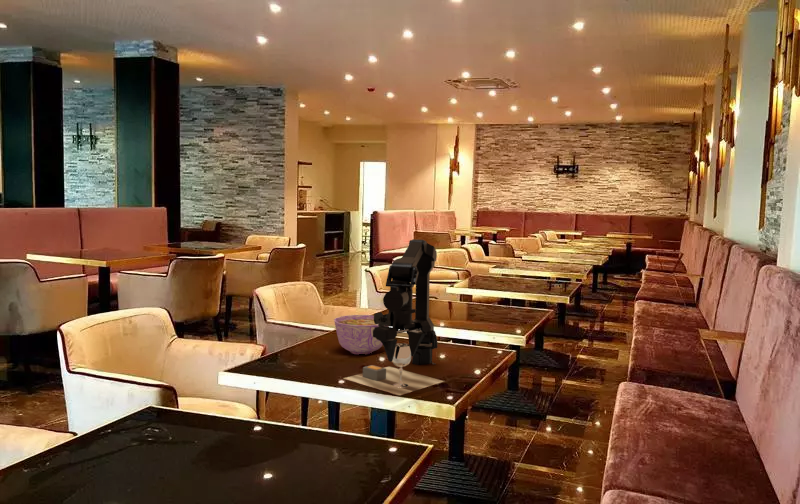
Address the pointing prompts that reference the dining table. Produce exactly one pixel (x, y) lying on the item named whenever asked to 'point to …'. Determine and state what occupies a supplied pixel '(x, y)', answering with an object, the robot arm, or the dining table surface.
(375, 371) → the block
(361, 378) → the subfloor board
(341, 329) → the bowl of food
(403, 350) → the wineglass
